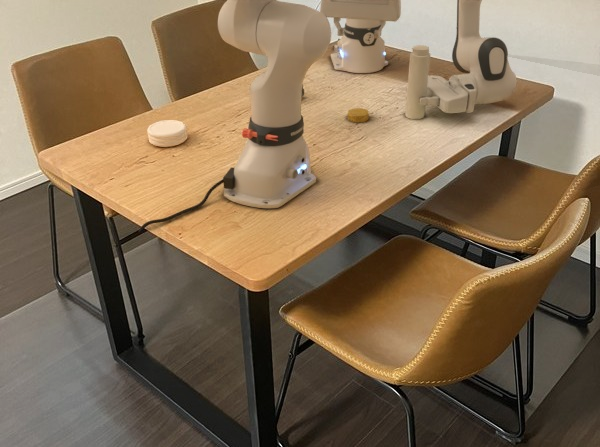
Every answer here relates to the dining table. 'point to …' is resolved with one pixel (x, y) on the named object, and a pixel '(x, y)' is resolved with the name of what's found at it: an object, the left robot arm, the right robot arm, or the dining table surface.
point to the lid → (358, 115)
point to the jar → (417, 81)
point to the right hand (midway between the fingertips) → (413, 95)
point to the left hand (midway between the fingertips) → (358, 36)
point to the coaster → (167, 133)
